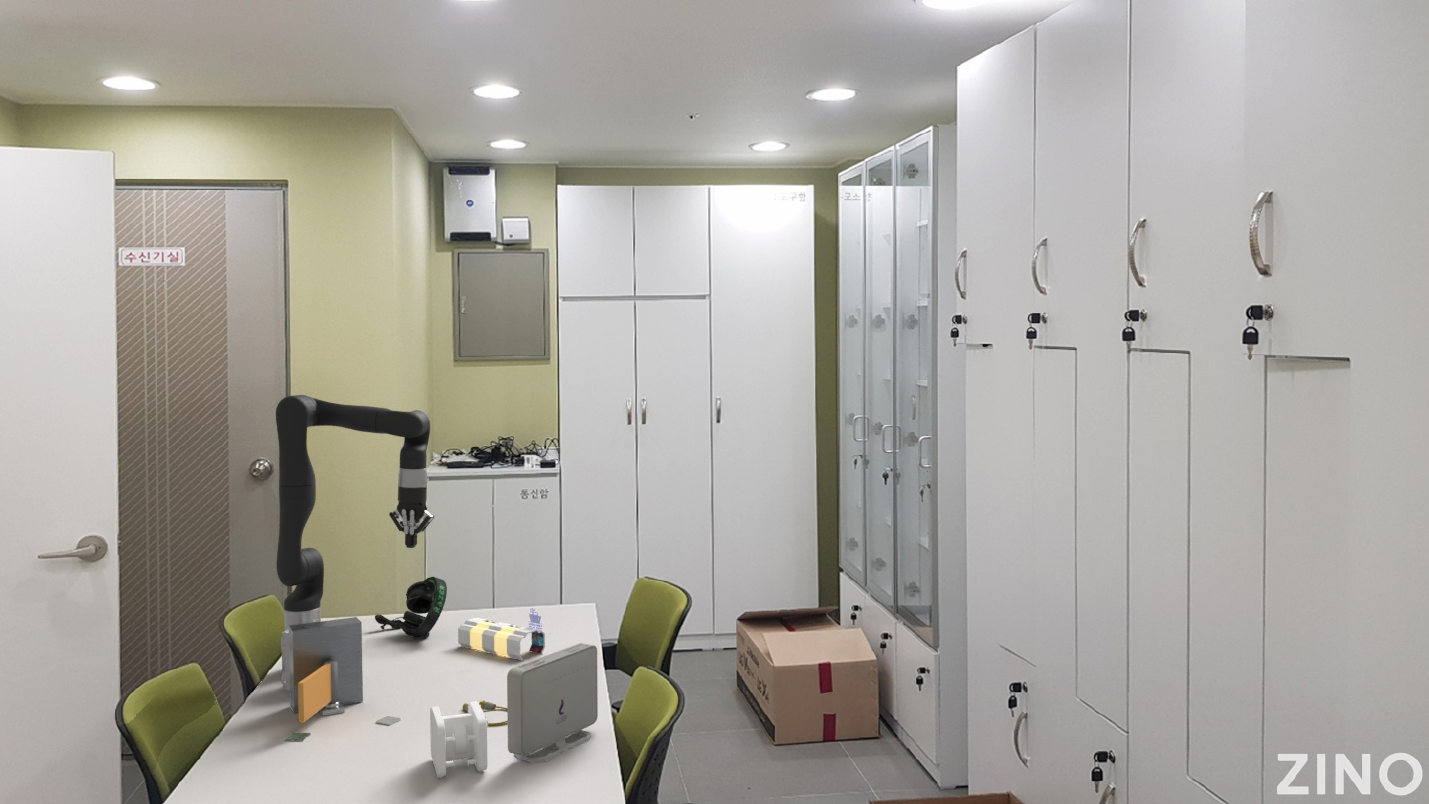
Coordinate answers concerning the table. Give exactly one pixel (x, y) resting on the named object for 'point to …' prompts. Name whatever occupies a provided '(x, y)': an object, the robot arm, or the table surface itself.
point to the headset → (420, 608)
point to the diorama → (500, 636)
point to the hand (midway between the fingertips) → (411, 547)
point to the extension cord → (488, 706)
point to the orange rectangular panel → (318, 690)
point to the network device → (552, 701)
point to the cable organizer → (458, 738)
